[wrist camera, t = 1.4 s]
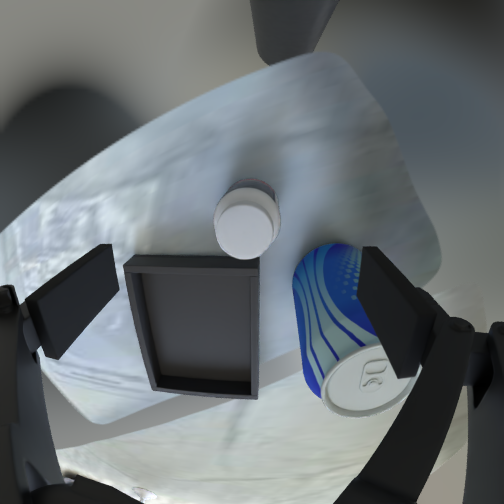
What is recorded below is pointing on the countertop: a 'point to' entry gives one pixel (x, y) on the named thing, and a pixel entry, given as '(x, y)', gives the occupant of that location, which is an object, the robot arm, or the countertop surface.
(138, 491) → the champagne flute
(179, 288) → the tray
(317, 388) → the beer can
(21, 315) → the robot arm
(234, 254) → the pill bottle
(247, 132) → the countertop surface
